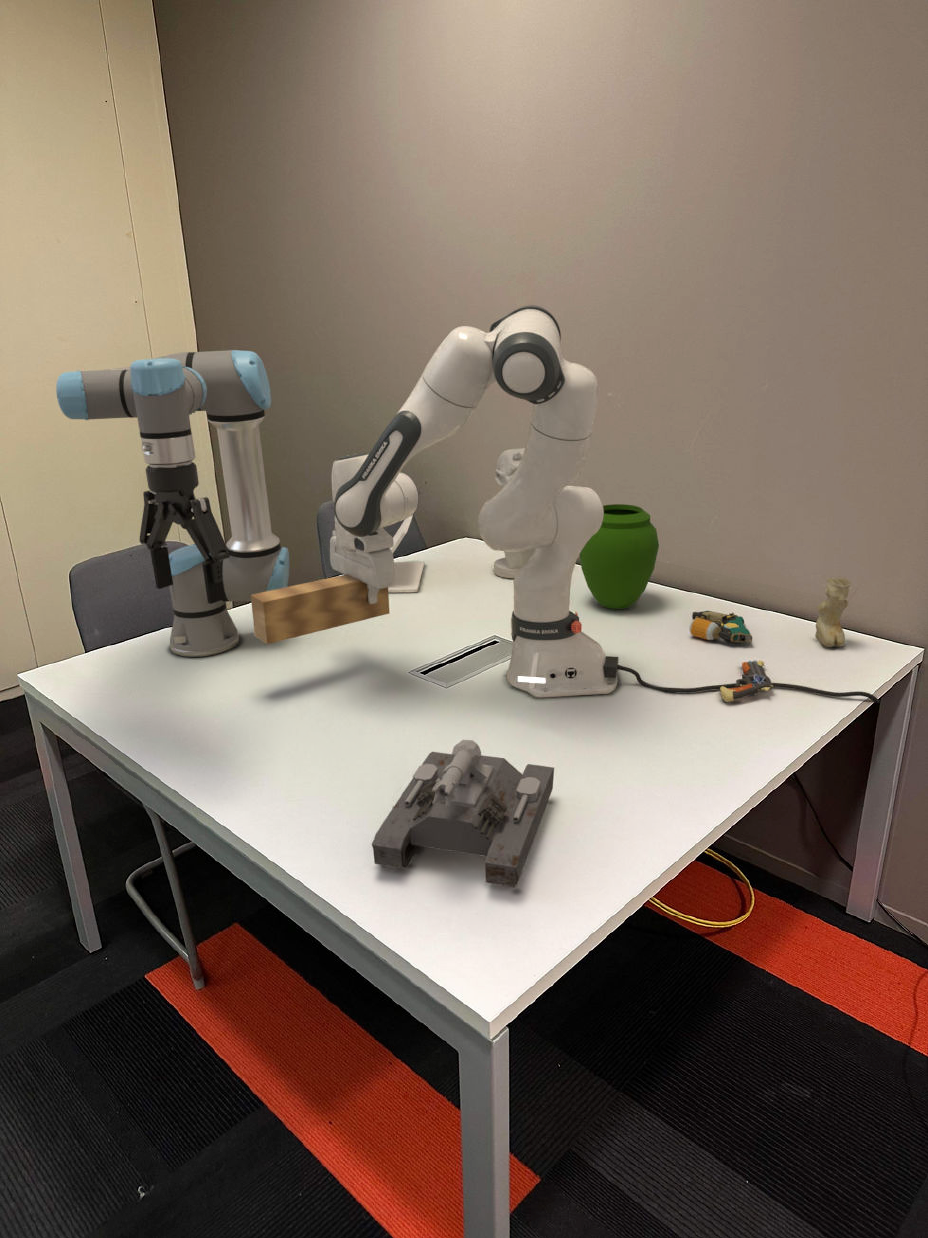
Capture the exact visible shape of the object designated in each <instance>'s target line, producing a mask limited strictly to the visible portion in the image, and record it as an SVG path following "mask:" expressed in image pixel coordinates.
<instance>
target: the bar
mask: <svg viewBox="0 0 928 1238" xmlns="http://www.w3.org/2000/svg"><path fill="white" fill-rule="evenodd" d="M368 591H369V589H368V588H367V584H366V583H364V582H362V581H361V580H359V579H356V578H354V577H352V576H350V575H347V574H346V575H344V574H341V575H337V576H333V577H328V578H323V579H318V580H314V581H309V582H304V583H300V584H295V585H290V586H287V587H285V588H281V589H276V590H271V591H267V592H262V593H257V594H253V595H251V601H250V602H251V611H252V618H253V619H252V621H253V630H254V637H256V638H257V639H259V640H260V641H262V642H263V643H264V644H266V645H270V644H274V643H277V642H282V641H286V640H290V639H294V638H298V637H302V636H306V635H309V634H314V633H318V632H322V631H325V630H329V629H333V628H338V627H342V626H345V625H349V624H355V623H358V622H362V621H366V620H369V619H374V618H377V617H382V616H386V615H389V614H390V599H389V598H390V596H389V595H390V593H388V587H387V588H382V589H379V591H378V594H377V603H374V604H370V603H368V602H367V601H366V595H367V594H368Z"/></svg>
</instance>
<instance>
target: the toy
mask: <svg viewBox="0 0 928 1238" xmlns="http://www.w3.org/2000/svg"><path fill="white" fill-rule="evenodd" d="M554 776H555V767H553V766H546V765H539V764H530V763H528V764H527V765H526V766H525V768H524V770H523V772H522V773H521V772H520V771H519V770H518V769H517V768H516V767H514V766H513V765H512V764H511V763H510V762H509V761H508V760H507V759H506V758H505V757H499V756H497V757H496V756H492V755H491V756H490V755H482V751H481V747H480V746H479V744H478V743H477V742H475V741H474V740H473V739H472V740H471V739H462V740H460V741H459V742H457V743H456V744H455V745H454V746H453V748H452V752H451V753H445V752H438V751H431V752H429V754H427V756H426V758H425V759H424V761H423V762H422V764H421V765H419V766H418V767H417V769H416V770H415V772H414V773H413V775H412V779H411V780H410V782H409V783H408V785H407V786H406V788H405V789H404V791H403V792H402V794H401V795H400V797H399V798H398V800H396V803H395V804H394V805H393V807H392V809H391V810H390V812H389V813H388V815H387V816H386V817H385V819H384V820H383V822H382V823H381V825H380V827H379V829H377V831H376V833H375V835H374V838H373V840H372V843H371V847H372V851H373V852H372V853H373V862H374V864H375V865H380V866H386V867H393V868H398V869H407V868H408V867H409V864H410V863H411V861H412V860H413V858H414V856H415V855H416V853H417V851H418V850H419V847H424V848H429V849H430V848H431V849H437V850H443V851H450V852H456V853H462V854H467V855H475V856H480V857H481V856H482V857H486V858H485V862H484V869H485V871H484V873H485V883H486V884H492V885H499V886H505V887H511V888H516V886H518V884H519V881H520V879H521V875H522V873H523V870H524V868H525V865H526V863H527V859H528V857H529V855H530V852H531V849H532V846H533V844H534V842H535V838H536V836H537V833H538V830H539V828H540V825H541V822H542V820H543V817H544V814H545V812H546V809H547V806H548V804H549V801H550V798H551V795H552V792H553V789H554Z"/></svg>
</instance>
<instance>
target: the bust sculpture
mask: <svg viewBox="0 0 928 1238" xmlns="http://www.w3.org/2000/svg"><path fill="white" fill-rule="evenodd" d="M524 450H525V447H522V448H512V449H506V450H504V451H502V452H501V454H500V455H499V457H498V459H497V461H496V468H495V471H494V480H495V482H496V484H497V486H498V487H501V489H503V488H504V487H505V485H506V484H507V483H508V482H509V480H510V479H511V477H512V476H513V475H514V473H515V471H516V470H517V468H518V466H519V464H520V462H521V460H522V457H523V454H524ZM535 549H536V548H535ZM535 549H529V550H523V551H517V552H514V551H503V553H504V557H502V558H498V559H496V560H495V561H494V562H493V573H494V574H495V575H496V576H497V577H500V578H506V579H514V577H515V575H516V573H517V571H518V570H519V569H520V568H521V567H522V566H523V565H524V564H525V563H527V562H528V561H529V560H530V558H531V557H532V555H533V554H534V552H535Z"/></svg>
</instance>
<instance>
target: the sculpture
mask: <svg viewBox="0 0 928 1238" xmlns="http://www.w3.org/2000/svg"><path fill="white" fill-rule="evenodd" d="M826 581H827V586H826V588H825V590H824V593H825V595H826V596H827V598H826V600H824V601H822V602H821V603H820V604H819V605H818V606H817V609H816V610H817V612H818V614H819V616H818V617H817V619H816V623H815V630H816V631H815V634H814V635H815V639H817V640H819V642H820V643H821V644H822V645H823V646H825V647H827V648H832V647H834V646H835V647H843V646H844V645H845V643H846V642H845V641H846V636H845V632H844V630H843V626H842V624H841V622H840V621H841V617H842V615H843V612H844V610H845V609H846V608H847V606H848V604H849V603H848V602H849V601H847V598H848V597H849V592H850V586H851V585H852V582H850V580H848V579H847V578H845V577H841V576H840V577H835V578H831V577H827V578H826Z"/></svg>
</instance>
